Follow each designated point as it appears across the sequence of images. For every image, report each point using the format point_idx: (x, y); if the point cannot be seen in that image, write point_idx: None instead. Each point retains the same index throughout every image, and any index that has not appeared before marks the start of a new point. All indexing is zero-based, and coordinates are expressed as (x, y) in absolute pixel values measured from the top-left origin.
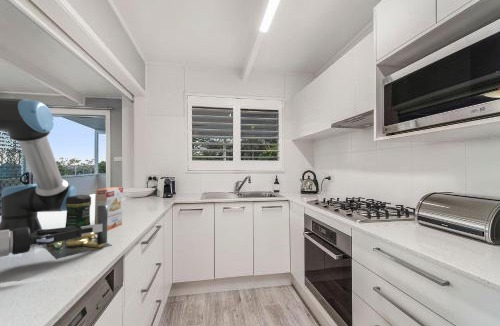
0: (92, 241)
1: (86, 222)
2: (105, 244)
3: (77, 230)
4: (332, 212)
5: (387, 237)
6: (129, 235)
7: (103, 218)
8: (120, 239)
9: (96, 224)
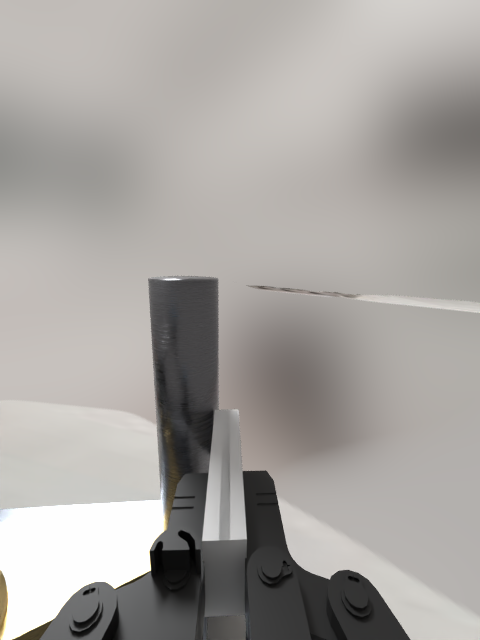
0: (5, 555)
1: None
2: (159, 515)
3: (400, 630)
4: (292, 292)
5: (420, 306)
6: (102, 420)
7: (217, 371)
8: (114, 451)
9: (222, 430)
